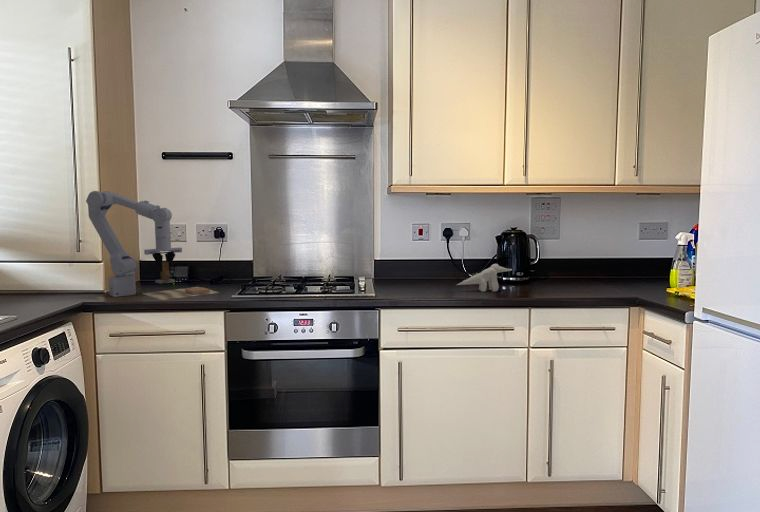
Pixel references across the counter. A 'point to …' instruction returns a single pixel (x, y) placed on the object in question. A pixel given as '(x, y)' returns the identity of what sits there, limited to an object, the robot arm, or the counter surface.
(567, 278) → the counter surface
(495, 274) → the dinosaur statue
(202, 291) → the tile
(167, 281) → the wooden post on base
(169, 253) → the robot arm
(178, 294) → the board
